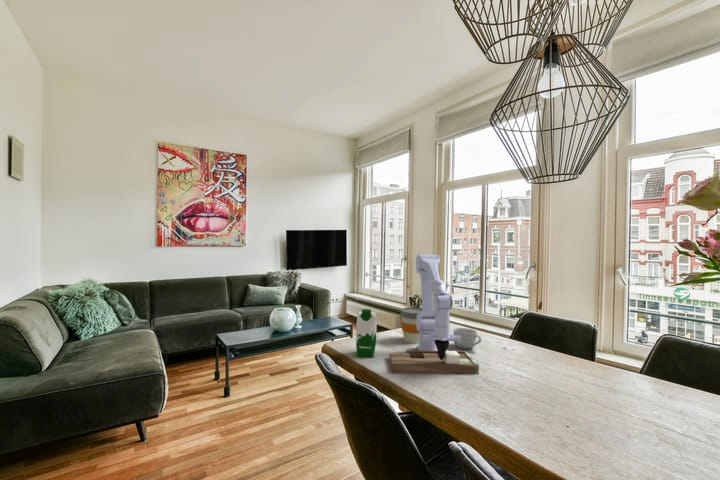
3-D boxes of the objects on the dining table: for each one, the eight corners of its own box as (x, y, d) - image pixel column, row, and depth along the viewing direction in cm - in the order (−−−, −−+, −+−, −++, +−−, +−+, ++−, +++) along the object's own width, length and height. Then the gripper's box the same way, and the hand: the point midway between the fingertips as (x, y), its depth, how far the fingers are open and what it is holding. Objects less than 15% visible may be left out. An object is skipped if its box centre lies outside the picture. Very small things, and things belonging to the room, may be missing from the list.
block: (443, 360, 133) (443, 350, 133) (455, 360, 133) (456, 350, 133) (446, 365, 128) (446, 355, 128) (459, 365, 128) (459, 355, 128)
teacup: (448, 344, 160) (448, 328, 160) (465, 341, 165) (465, 325, 164) (468, 354, 147) (469, 336, 147) (486, 351, 152) (487, 333, 152)
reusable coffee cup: (411, 334, 175) (412, 306, 174) (430, 340, 165) (431, 311, 165) (394, 339, 167) (395, 309, 166) (413, 346, 157) (414, 314, 157)
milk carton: (354, 357, 141) (355, 310, 141) (357, 349, 150) (357, 306, 150) (375, 358, 141) (376, 311, 140) (376, 351, 150) (377, 307, 149)
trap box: (388, 357, 142) (388, 350, 142) (465, 358, 142) (466, 351, 142) (392, 372, 127) (392, 363, 127) (478, 373, 127) (478, 365, 127)
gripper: (425, 327, 127) (425, 362, 128) (463, 328, 127) (462, 363, 128) (422, 322, 134) (421, 355, 135) (457, 323, 134) (457, 356, 135)
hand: (441, 358), depth 132 cm, fingers closed
